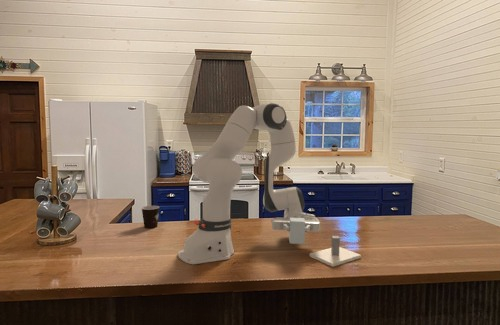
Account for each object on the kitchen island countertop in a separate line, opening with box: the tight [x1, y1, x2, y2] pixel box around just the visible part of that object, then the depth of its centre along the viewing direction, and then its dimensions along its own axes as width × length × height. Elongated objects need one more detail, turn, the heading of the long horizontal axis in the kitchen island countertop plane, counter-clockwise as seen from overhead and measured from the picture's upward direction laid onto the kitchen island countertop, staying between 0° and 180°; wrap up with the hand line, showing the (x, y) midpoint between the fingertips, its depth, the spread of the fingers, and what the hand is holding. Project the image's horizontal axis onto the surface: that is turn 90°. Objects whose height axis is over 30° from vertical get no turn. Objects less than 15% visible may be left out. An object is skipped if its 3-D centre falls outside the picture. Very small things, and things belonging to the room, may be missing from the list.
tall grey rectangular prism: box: [288, 218, 306, 245], centre depth 137 cm, size 6×6×9 cm
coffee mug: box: [141, 205, 160, 230], centre depth 175 cm, size 12×9×10 cm
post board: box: [309, 235, 362, 267], centre depth 134 cm, size 16×12×8 cm
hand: (297, 229), depth 136 cm, fingers closed on tall grey rectangular prism, 6 cm apart
